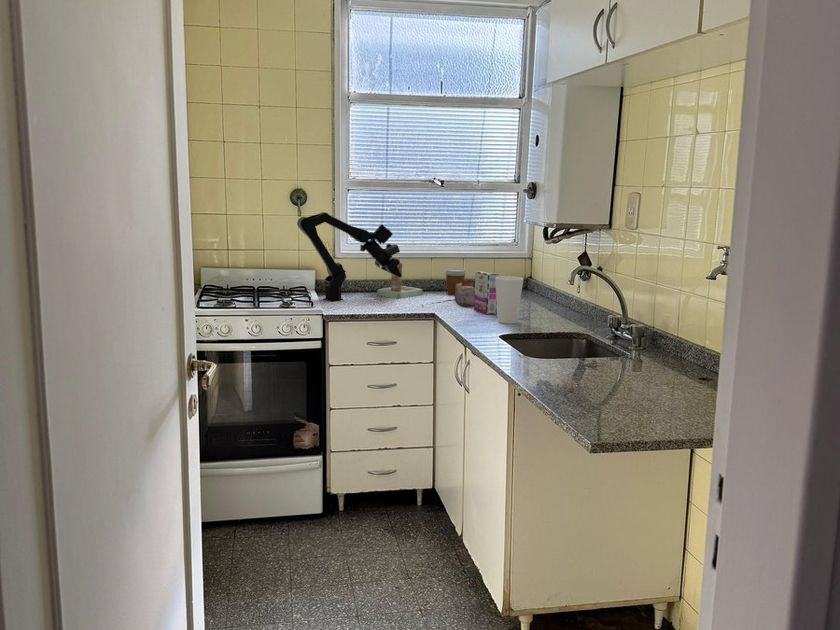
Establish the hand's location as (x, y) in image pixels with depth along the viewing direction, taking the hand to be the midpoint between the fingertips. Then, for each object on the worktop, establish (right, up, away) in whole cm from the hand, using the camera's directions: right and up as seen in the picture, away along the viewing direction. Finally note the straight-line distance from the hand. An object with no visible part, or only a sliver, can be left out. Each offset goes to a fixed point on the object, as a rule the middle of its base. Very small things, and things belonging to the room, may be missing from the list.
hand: (399, 275), depth 342 cm
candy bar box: (+36, -16, -28) cm, 48 cm away
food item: (+29, -13, -10) cm, 33 cm away
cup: (+43, -20, -48) cm, 67 cm away
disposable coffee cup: (+25, -9, +10) cm, 28 cm away
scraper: (-1, -7, +1) cm, 7 cm away
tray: (0, -9, +3) cm, 10 cm away
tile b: (+1, -7, +8) cm, 11 cm away
